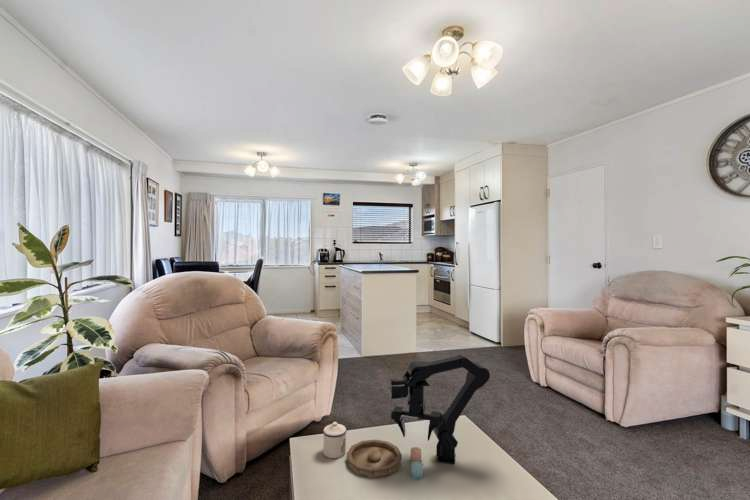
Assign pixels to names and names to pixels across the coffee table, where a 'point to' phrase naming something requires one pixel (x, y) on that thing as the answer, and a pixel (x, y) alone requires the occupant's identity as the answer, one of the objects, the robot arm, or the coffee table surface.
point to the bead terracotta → (415, 454)
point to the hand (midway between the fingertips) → (416, 438)
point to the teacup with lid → (334, 440)
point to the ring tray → (374, 458)
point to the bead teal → (417, 470)
